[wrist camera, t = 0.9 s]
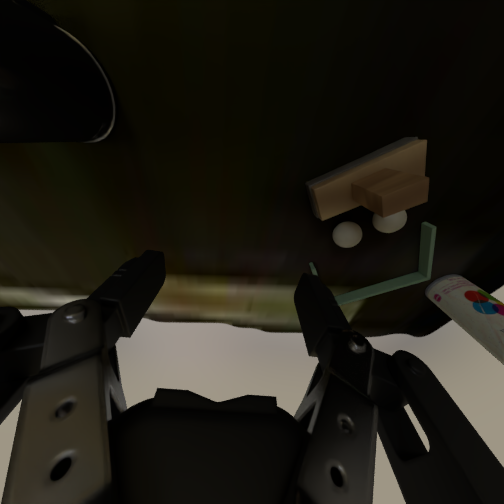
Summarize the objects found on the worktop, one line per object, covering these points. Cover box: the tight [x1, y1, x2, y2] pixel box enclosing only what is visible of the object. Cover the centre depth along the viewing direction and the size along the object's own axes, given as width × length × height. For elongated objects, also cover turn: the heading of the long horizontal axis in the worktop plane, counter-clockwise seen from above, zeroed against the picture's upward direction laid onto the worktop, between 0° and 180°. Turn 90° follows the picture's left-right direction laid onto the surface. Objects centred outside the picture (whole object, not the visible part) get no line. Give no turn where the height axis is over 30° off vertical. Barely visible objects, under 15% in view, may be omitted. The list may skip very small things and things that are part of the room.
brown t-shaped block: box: [305, 137, 429, 221], centre depth 21 cm, size 5×13×10 cm, turn 115°
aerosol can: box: [425, 274, 504, 365], centre depth 28 cm, size 7×7×20 cm
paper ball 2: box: [372, 210, 407, 233], centre depth 26 cm, size 4×4×4 cm
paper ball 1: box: [333, 221, 362, 248], centre depth 27 cm, size 4×4×4 cm
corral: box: [309, 222, 436, 306], centre depth 33 cm, size 12×19×2 cm, turn 115°
